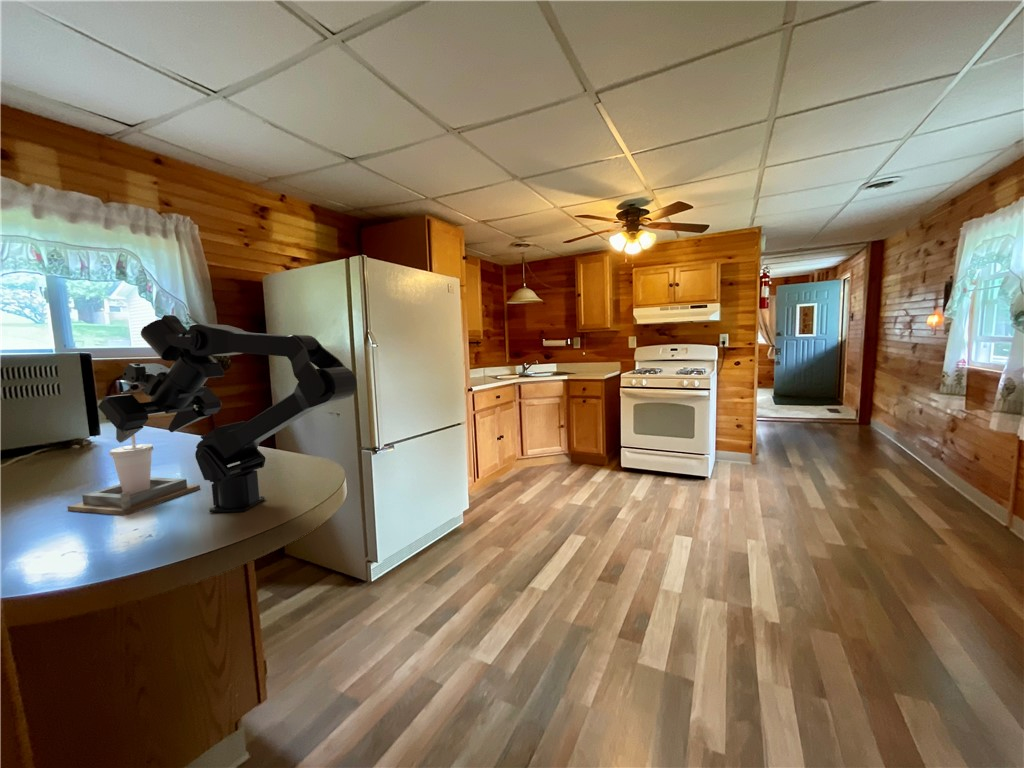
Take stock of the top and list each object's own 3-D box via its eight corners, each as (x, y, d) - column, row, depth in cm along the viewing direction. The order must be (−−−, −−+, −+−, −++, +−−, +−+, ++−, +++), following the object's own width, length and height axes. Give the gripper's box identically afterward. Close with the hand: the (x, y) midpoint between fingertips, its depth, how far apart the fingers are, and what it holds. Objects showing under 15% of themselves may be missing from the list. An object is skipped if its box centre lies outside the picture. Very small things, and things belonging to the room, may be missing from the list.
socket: (200, 488, 87) (198, 471, 87) (125, 515, 74) (123, 494, 73) (148, 485, 90) (146, 468, 90) (67, 510, 77) (65, 490, 76)
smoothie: (132, 502, 78) (124, 429, 77) (105, 500, 79) (97, 429, 78) (166, 490, 84) (159, 423, 83) (141, 489, 86) (134, 422, 84)
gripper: (205, 348, 87) (169, 400, 90) (99, 348, 68) (59, 414, 72) (239, 385, 85) (201, 436, 89) (141, 395, 67) (98, 459, 71)
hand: (146, 435), depth 80 cm, fingers open, 9 cm apart
